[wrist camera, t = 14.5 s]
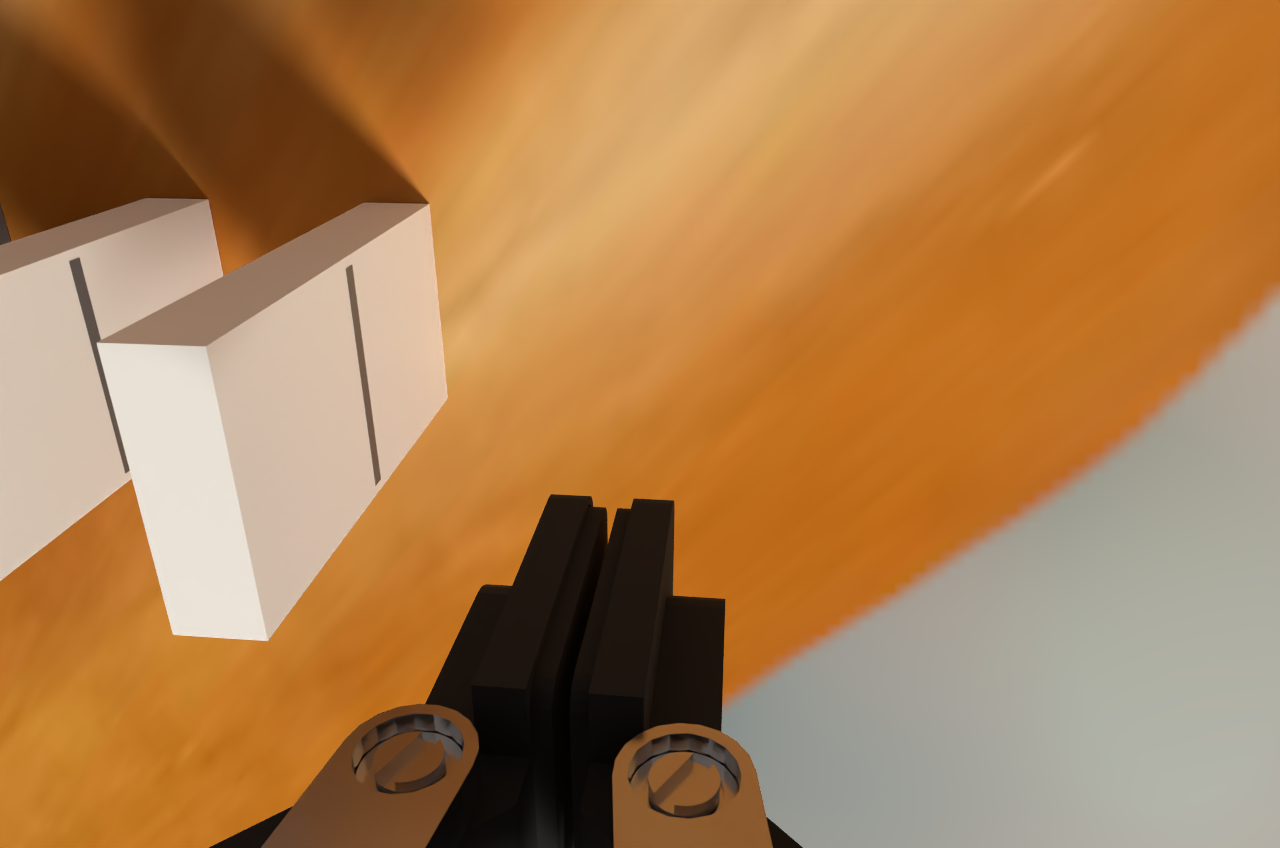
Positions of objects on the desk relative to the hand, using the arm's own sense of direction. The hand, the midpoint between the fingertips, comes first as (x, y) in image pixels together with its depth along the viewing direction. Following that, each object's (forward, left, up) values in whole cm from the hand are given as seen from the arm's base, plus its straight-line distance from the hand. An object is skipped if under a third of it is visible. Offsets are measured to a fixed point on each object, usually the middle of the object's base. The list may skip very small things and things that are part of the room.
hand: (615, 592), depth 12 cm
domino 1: (+6, -10, -11) cm, 16 cm away
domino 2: (+3, -6, -11) cm, 13 cm away
